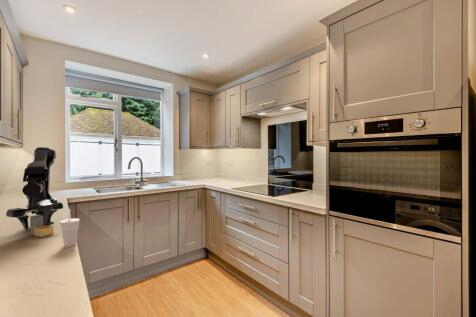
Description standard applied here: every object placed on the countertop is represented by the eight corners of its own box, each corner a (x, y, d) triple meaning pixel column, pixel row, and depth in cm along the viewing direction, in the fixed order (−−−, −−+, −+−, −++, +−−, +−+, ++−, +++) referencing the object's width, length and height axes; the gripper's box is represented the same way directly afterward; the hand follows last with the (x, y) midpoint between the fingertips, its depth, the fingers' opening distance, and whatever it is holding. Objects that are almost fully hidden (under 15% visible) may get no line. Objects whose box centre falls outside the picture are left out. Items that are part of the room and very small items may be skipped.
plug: (30, 234, 102) (30, 216, 102) (38, 232, 105) (38, 214, 105) (35, 235, 100) (35, 217, 100) (43, 233, 103) (43, 215, 103)
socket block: (33, 236, 99) (33, 228, 99) (46, 232, 104) (46, 225, 104) (41, 237, 97) (41, 229, 97) (53, 234, 101) (53, 226, 101)
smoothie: (77, 240, 94) (77, 206, 94) (82, 244, 90) (82, 209, 90) (57, 245, 89) (57, 209, 89) (62, 249, 85) (62, 212, 85)
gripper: (20, 198, 91) (20, 237, 91) (70, 191, 108) (70, 224, 108) (5, 196, 95) (5, 233, 95) (56, 190, 112) (56, 222, 112)
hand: (36, 228), depth 103 cm, fingers open, 7 cm apart
